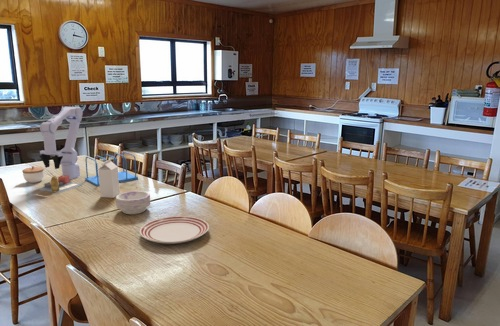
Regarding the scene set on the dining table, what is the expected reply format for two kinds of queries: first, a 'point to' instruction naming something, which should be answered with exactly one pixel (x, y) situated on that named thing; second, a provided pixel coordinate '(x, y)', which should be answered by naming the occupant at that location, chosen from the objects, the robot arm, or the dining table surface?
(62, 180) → the die
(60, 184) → the dome housing
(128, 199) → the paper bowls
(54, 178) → the tan rounded peg
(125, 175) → the file sorter
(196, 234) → the dinner plate
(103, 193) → the milk carton
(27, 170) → the lidded jar
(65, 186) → the board
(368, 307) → the dining table surface
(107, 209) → the dining table surface
